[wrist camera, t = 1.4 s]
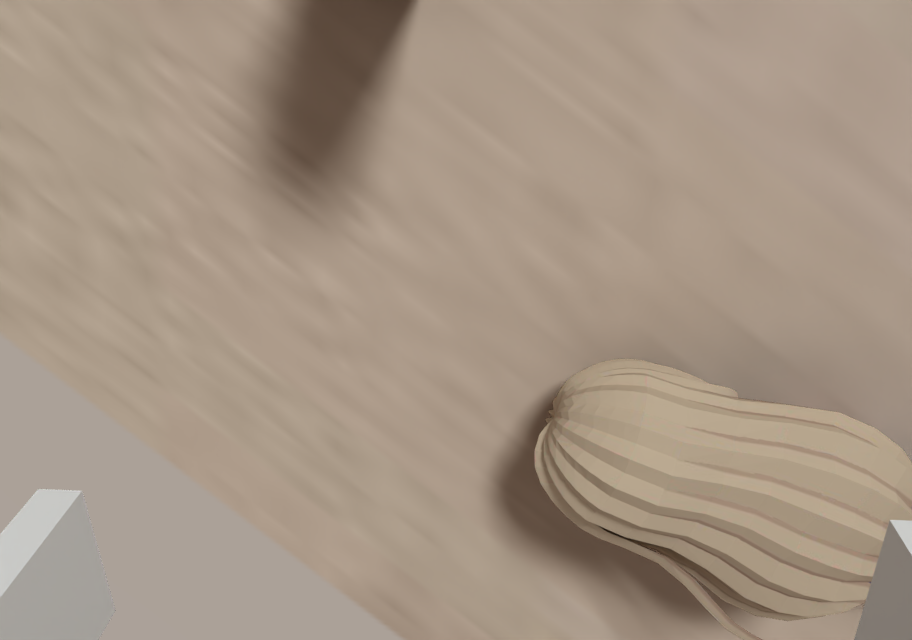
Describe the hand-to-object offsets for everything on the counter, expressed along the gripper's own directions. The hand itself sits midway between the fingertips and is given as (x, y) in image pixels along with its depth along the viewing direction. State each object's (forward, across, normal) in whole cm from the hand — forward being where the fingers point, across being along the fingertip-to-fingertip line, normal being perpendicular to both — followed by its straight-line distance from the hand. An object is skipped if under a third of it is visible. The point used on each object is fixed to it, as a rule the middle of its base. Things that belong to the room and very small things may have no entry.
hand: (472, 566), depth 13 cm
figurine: (+26, -16, +17) cm, 35 cm away
